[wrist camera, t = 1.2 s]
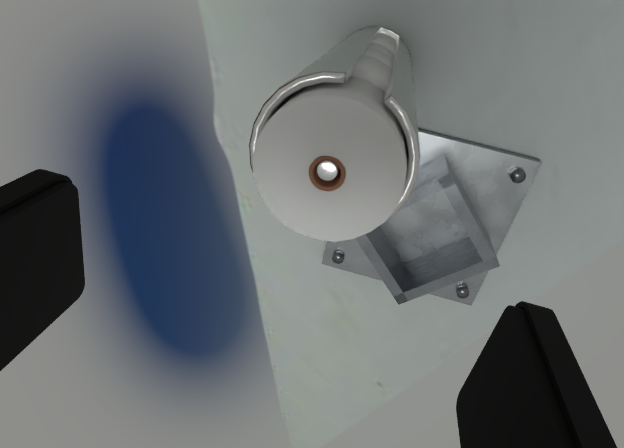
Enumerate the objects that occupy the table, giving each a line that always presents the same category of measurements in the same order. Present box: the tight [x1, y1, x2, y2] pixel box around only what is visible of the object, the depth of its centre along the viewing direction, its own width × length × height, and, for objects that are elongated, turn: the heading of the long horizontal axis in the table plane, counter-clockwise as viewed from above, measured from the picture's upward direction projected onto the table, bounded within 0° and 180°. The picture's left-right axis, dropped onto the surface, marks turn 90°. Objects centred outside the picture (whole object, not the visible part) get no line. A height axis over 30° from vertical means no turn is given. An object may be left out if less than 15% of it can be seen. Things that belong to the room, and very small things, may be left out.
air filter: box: [249, 27, 420, 242], centre depth 26 cm, size 6×6×25 cm
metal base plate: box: [322, 129, 542, 305], centre depth 40 cm, size 16×16×6 cm
